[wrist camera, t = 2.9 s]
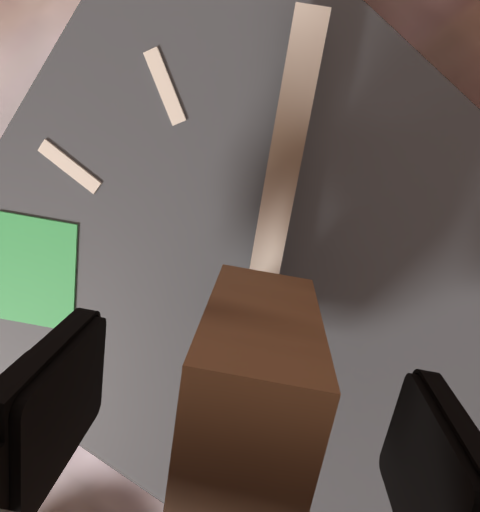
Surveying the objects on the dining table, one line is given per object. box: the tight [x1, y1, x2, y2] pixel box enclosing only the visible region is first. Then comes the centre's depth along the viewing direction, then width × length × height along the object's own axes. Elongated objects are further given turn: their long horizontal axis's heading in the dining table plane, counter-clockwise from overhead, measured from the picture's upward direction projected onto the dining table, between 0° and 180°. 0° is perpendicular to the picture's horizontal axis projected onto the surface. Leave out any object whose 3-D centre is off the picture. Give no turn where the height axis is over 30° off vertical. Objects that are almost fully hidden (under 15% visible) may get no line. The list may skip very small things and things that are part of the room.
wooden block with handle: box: [163, 2, 341, 512], centre depth 10 cm, size 13×2×9 cm, turn 171°
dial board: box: [0, 0, 480, 512], centre depth 16 cm, size 22×20×2 cm
